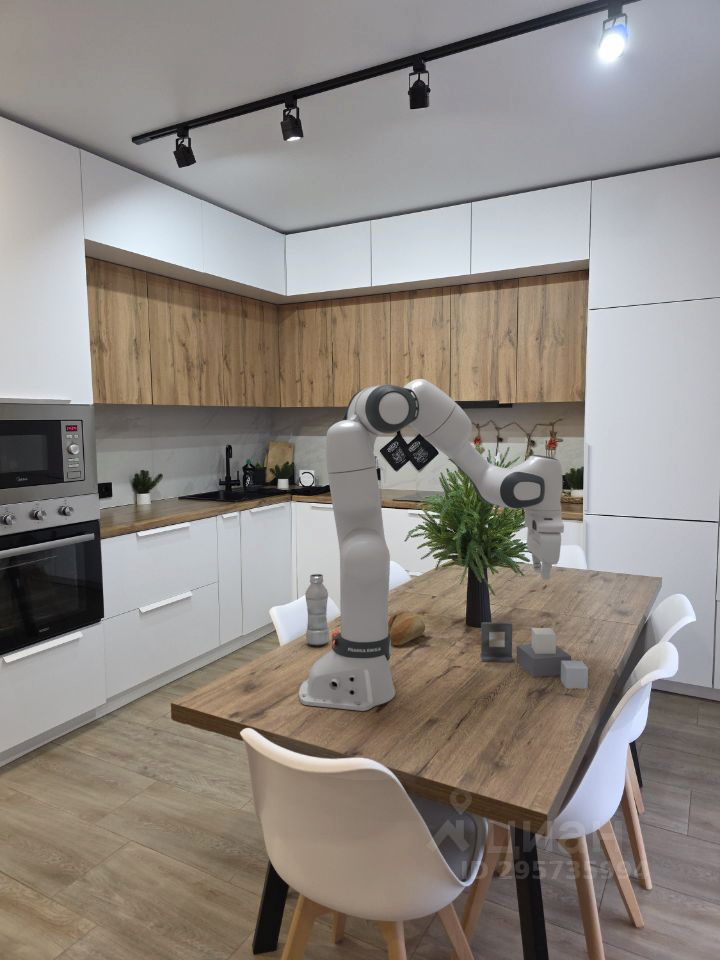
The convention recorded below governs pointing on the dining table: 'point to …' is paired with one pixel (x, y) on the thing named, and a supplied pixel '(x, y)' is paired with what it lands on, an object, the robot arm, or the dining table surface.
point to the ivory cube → (543, 641)
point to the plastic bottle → (317, 611)
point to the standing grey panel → (496, 642)
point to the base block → (541, 661)
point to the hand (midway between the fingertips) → (540, 574)
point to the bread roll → (405, 627)
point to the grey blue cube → (574, 674)
